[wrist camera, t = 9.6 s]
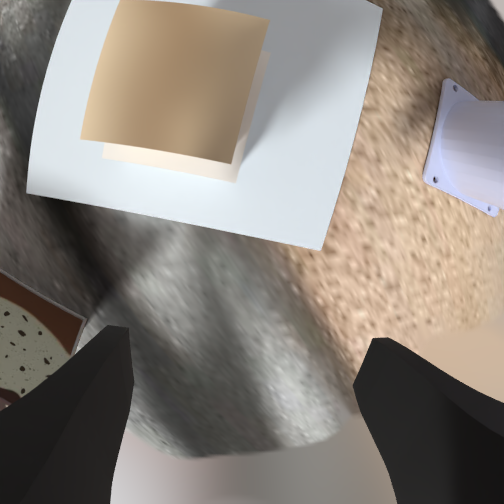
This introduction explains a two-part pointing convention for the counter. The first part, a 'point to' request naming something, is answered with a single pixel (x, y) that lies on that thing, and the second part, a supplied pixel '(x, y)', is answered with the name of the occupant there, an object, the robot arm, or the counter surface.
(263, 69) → the base block
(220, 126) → the maple block
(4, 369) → the food container
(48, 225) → the counter surface
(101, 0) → the white flat panel
